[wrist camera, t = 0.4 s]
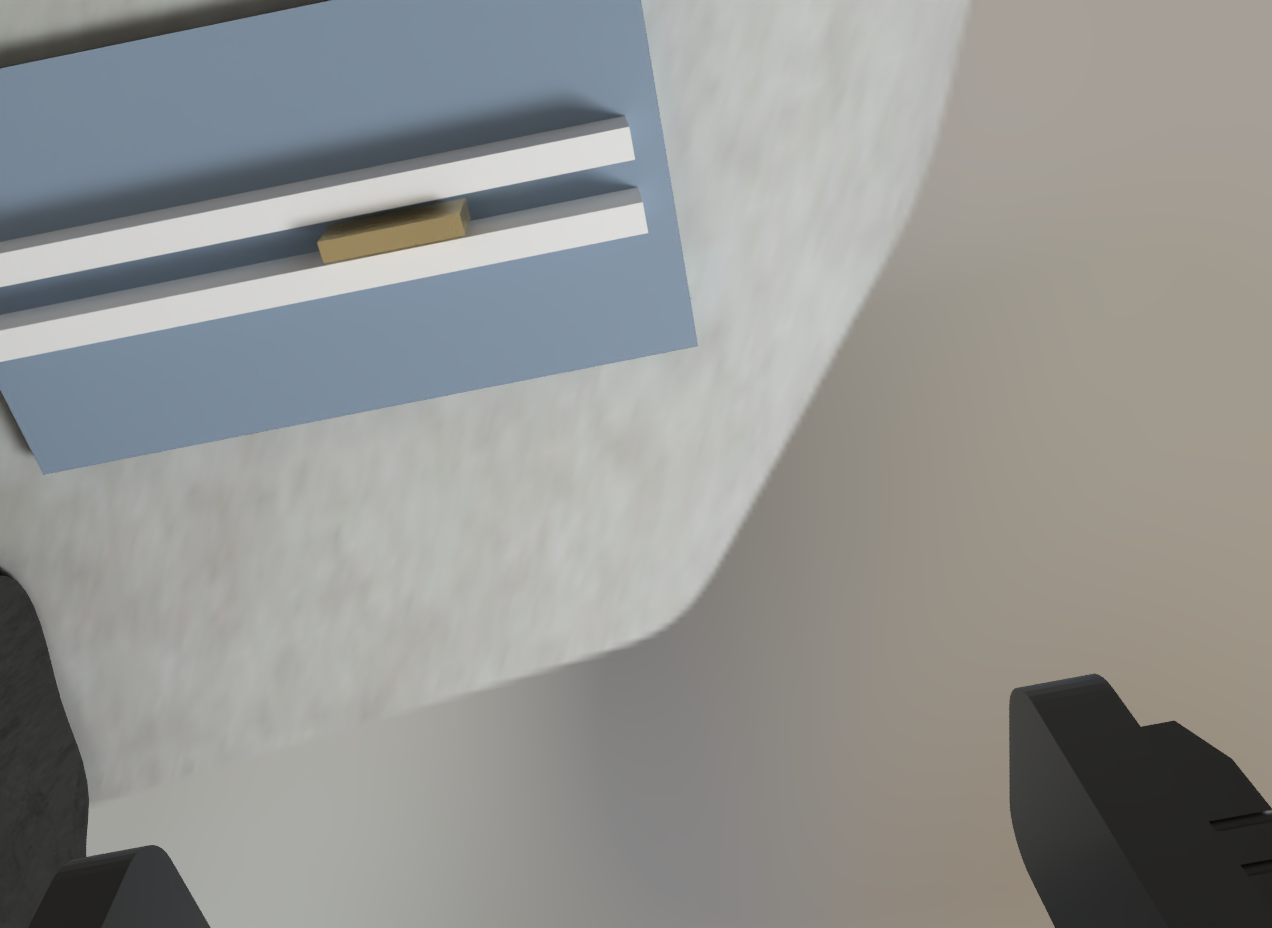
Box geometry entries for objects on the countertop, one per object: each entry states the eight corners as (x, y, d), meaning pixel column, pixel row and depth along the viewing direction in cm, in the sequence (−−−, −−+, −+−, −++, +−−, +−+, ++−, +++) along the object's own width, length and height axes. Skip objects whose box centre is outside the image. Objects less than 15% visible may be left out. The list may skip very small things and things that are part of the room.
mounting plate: (-123, 93, 30) (-196, 109, 27) (628, -62, 29) (635, -62, 26) (59, 458, 35) (14, 504, 32) (693, 333, 34) (705, 368, 32)
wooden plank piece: (331, 224, 30) (317, 242, 28) (465, 197, 30) (459, 213, 28) (337, 244, 30) (324, 263, 28) (470, 217, 30) (465, 235, 28)
